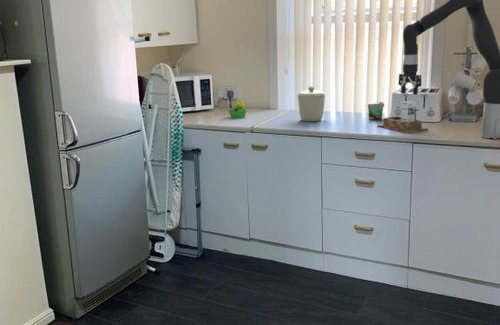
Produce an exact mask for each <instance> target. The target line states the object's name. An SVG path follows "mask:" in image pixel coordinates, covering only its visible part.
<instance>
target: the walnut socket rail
mask: <svg viewBox="0 0 500 325" xmlns="http://www.w3.org/2000/svg"><path fill="white" fill-rule="evenodd" d="M422 125H423V121H422V120H419V119H416V121H414V122H403V121H401V116H398V115H397V116H396V115H395V116H390V117H383V123H381V124H377V127H379V128H382V129H386V130H387V129H388V130H391V131H395V132H401V133H405V134H412V133H418V132H425V131H428V130H429V129H428V128H427V127H423V126H422Z"/></svg>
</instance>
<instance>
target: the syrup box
mask: <svg viewBox="0 0 500 325" xmlns="http://www.w3.org/2000/svg"><path fill="white" fill-rule="evenodd" d="M400 102H401V103H400V104H401V105H400V106H401V108H400V112H401V113H400V117H401V121H403V122H414V121H416V120H417V101H414V100H406V101H400Z"/></svg>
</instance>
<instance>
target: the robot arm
mask: <svg viewBox="0 0 500 325" xmlns="http://www.w3.org/2000/svg"><path fill="white" fill-rule="evenodd" d="M463 8H465V10H466V12H467V15H468V17H469V20H470V26H471V34H472V38H473V41H474V44H475V48H476V49H477V51H478V52H479V54H480V55H481V56H482V57H483V59H484V60H485V62H486V64H487V66H488V70H489V71H487V72H485V76H483V77H484V78H483V88H482V95H483V101H484V102H483V111H482V121H481V122H482V123H481V124H482V125H481V135H480V136H482V138H483V137H484V139H489V138H493V140H498V139H497V138H499V139H500V49H499V45H498V42H497V39H496V35H495V32H494V30H493V29H494V28H493V27H492V24H491V21H490V20H489V17H488V15H487V13H486V10H485V5H484V0H448V1H446V2H445V3H444V4H442V5H440V6H439V7H437V8H436V9H434V10H432V11H430V12H429V13H426V14H425V15H424V16H422V17H421V18H420V19H419V20H417V21H415V22H414V23H411V24H406V25H405V27H404V28H403V32H402V37H403V45H404V47H403V58H402V73H399V74H398V85H399V86H400V88H401V92H400V93H401V94H406V91H407V90H406V87H407V85H408V83H409V84H411V85H412V87H413V92H412V94H413V96H415V95H416V96H417V95H418V93H419V88H420V87H422V74H418V75H417V72H418V71H419V70H418V69H419V66H418V65H419V64H418V63H419V57H418V55H419V54H418V53H419V52H418V51H419V45H418V43H417V42H418V41H417V38H418V36H419V37H420V35H422V34H423V33H424V32H426V31H427V30H430V29H431V28H434V27H435V26H437V25H439V24H440V23H441V22H443V21H444V20H446V19H447V18H448V17H450V16H451V15H452V14H454V13H455V12H457V11H459V10H461V9H463Z"/></svg>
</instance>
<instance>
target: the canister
mask: <svg viewBox="0 0 500 325" xmlns="http://www.w3.org/2000/svg"><path fill="white" fill-rule="evenodd" d="M307 89H308V90H302V91H300V92H298V93H297V94H296V96H297V103H298V112H299V116H300V120H301V121H304V122H319V121H321V120H322V119H323V117H324V116H323V115H324V109H325V99H326V96H327V93H326V92H324V91H323V90H315V87H314V86H309V87H308V88H307Z"/></svg>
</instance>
